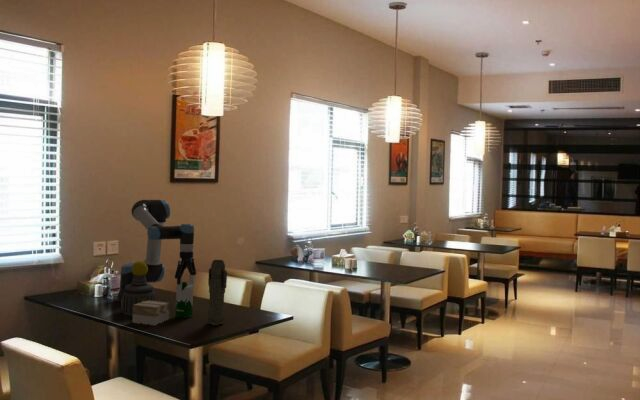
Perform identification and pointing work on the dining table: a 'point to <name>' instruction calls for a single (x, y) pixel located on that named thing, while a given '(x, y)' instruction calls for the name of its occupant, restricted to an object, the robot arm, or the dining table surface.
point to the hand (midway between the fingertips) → (185, 288)
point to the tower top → (151, 308)
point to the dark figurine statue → (217, 291)
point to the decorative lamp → (137, 289)
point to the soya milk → (184, 300)
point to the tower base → (150, 319)
